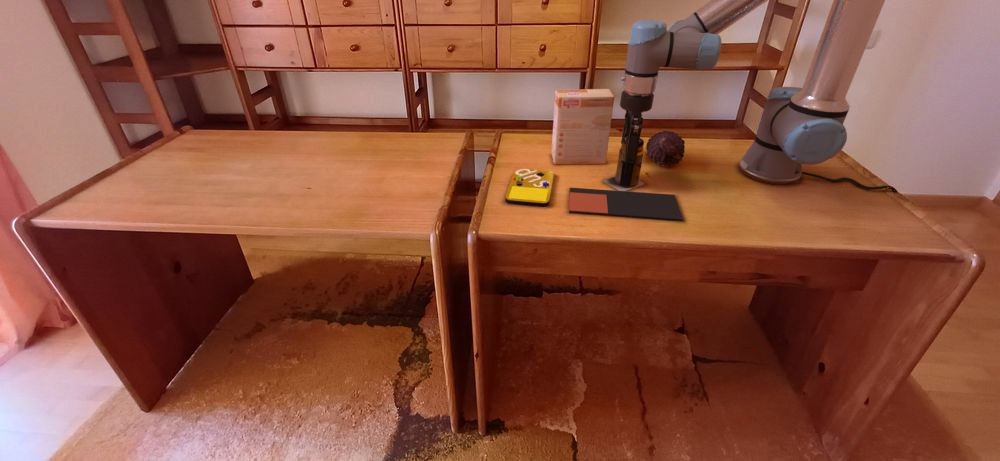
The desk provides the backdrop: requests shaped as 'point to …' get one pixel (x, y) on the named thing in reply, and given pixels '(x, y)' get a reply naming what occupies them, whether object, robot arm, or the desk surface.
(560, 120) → the coffeecake box
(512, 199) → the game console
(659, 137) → the pine cone
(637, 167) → the condiment
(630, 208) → the desk mat
